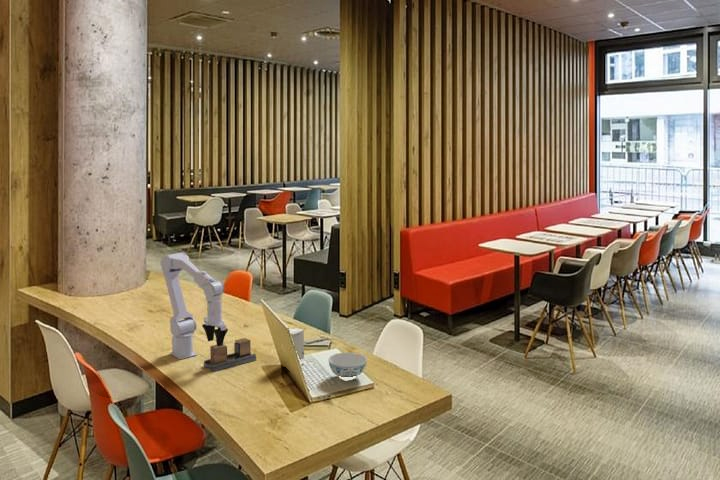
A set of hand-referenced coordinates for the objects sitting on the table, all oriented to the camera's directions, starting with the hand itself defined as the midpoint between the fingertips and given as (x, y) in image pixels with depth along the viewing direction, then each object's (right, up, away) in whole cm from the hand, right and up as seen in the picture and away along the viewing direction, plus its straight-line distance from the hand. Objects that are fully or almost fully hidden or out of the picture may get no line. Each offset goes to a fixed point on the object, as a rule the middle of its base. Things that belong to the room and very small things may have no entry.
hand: (215, 343), depth 238 cm
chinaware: (+54, -12, -11) cm, 57 cm away
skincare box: (+32, -10, +2) cm, 33 cm away
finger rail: (+5, -9, +3) cm, 11 cm away
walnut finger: (+2, -8, 0) cm, 8 cm away
